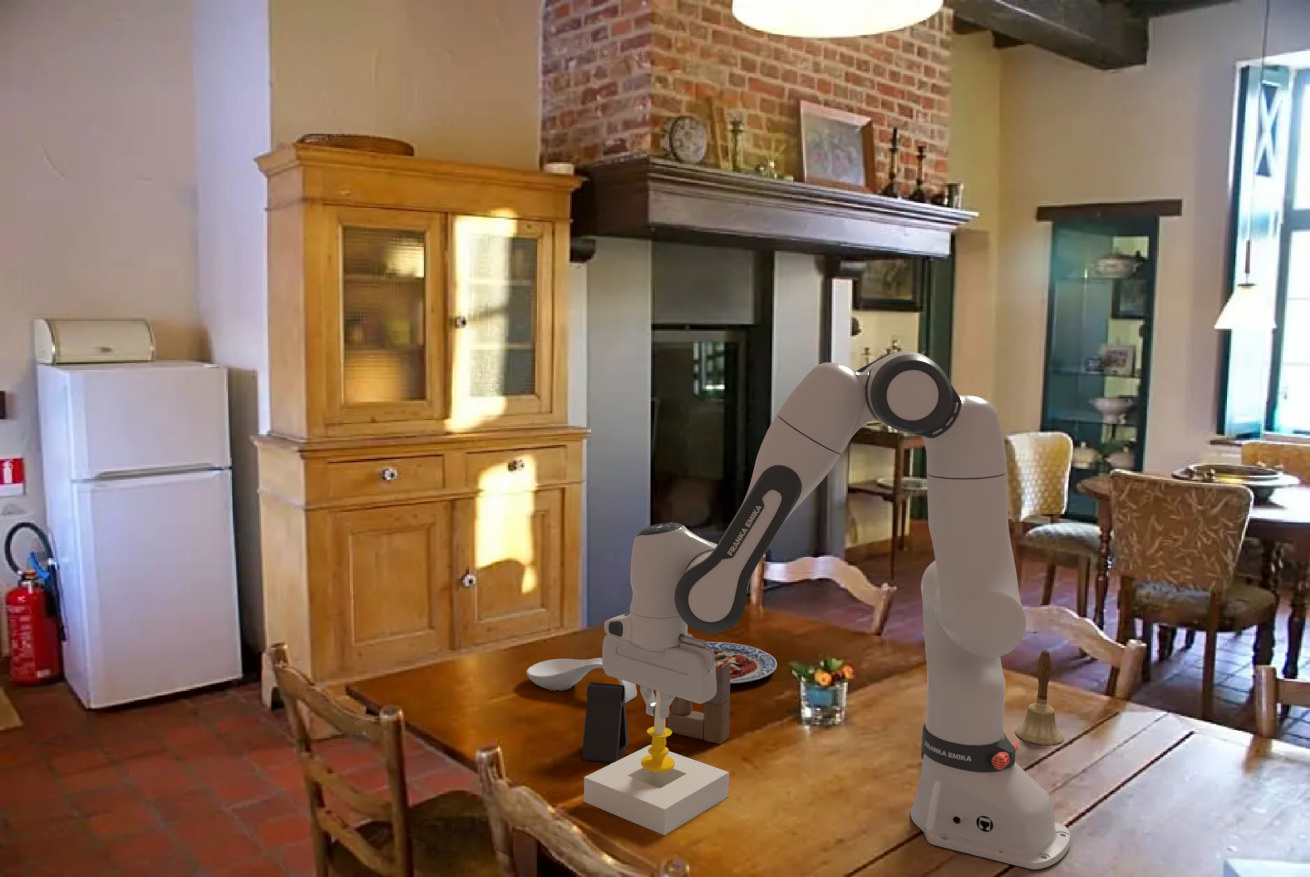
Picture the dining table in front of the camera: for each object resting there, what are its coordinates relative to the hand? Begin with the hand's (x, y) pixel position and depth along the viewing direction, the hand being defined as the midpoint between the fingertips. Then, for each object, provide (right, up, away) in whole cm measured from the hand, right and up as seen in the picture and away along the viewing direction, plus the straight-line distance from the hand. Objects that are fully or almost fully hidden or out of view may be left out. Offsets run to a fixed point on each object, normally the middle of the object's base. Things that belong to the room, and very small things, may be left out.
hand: (657, 715), depth 159 cm
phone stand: (-9, -12, +19) cm, 24 cm away
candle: (0, -8, 0) cm, 8 cm away
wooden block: (+7, -11, +26) cm, 29 cm away
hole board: (0, -13, +2) cm, 14 cm away
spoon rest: (-15, -8, +48) cm, 51 cm away
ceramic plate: (+13, -7, +61) cm, 62 cm away
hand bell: (+69, -11, +27) cm, 75 cm away
